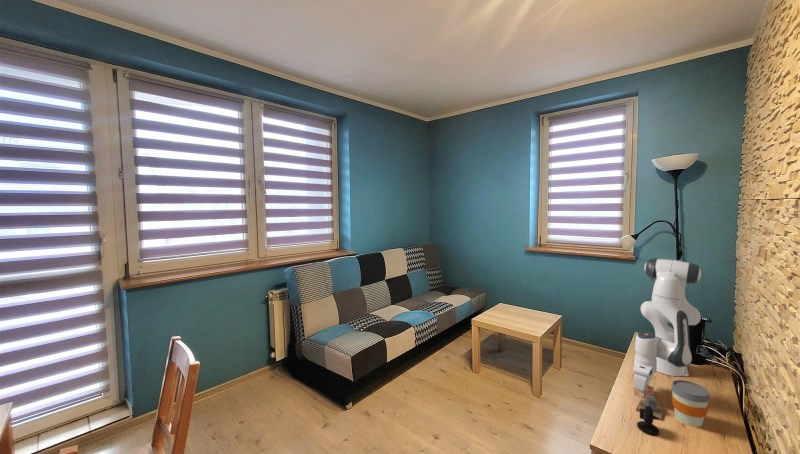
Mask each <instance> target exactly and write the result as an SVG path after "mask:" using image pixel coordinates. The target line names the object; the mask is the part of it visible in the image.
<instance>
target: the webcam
mask: <svg viewBox="0 0 800 454" xmlns="http://www.w3.org/2000/svg"><path fill="white" fill-rule="evenodd" d="M639 419H641V421H638V422H637V423H636V426H637V428H638V429H639V430H640V431H641V432H642V433H644V434H647V435H649V436H658V435H659V434H660V430H659V428H658V427H657V426H656V425H654V423H653V422H654V420H656V421H661V420H660V419H659V418H657V417H655V416H654V415H653V410H652V408H651V407H650V406H646V407H645V408H644V409H642V408H640V412H639ZM646 428H647V429H646ZM648 429H650V430H648Z"/></svg>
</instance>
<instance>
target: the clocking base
mask: <svg viewBox="0 0 800 454" xmlns="http://www.w3.org/2000/svg"><path fill="white" fill-rule="evenodd" d="M640 399H641V398H640ZM646 406H650V407H651V408H652V410H653V415H654V416H655V417H657V418H659V419H660V420H659V421H662V418H663V416H664V414H665V412H666V408H665V407H663V406H660V405H659V404H658V401H657V399H656V397H655V396H654V395H653V396H646V399H643V398H642V399H641V400H640V401H639V403H638V405H637V406H636V409H635V411H636V412H639V413H640V408H642V409H644V408H645V407H646Z"/></svg>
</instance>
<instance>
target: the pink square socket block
mask: <svg viewBox="0 0 800 454" xmlns="http://www.w3.org/2000/svg"><path fill="white" fill-rule="evenodd" d="M654 389H655V388H654V387H653V386H650V385H649V386H647V388H646V389H645V391H644V392H645V395H644V396H641V395H640V394H639V393H640V392H639V390H637V389H636V388H635V386H633V395H634V396H635V397H639V398H642V399H643V400H645V399H646V396H653V397H654V391H655V390H654Z"/></svg>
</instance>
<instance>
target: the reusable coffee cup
mask: <svg viewBox="0 0 800 454" xmlns="http://www.w3.org/2000/svg"><path fill="white" fill-rule="evenodd" d="M670 390H671V391H672V393H671V400H672V407H673V409H674V416H675V418H676V420H678V421H679V422H680V423H682V424H685V425H686V426H689V427H694V428H701V427H702V426H703V424H704V420H705V417H707V416H708V410H709V407H710V406H709V402H710V400H711V399H710V397H711V396H710V392H709V390H708V389H707V388H705V387H704V386H703V385H701V384H698V383H696V382H692V381H688V380H684V379H676V380H673V381H672V383H671V387H670Z"/></svg>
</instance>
